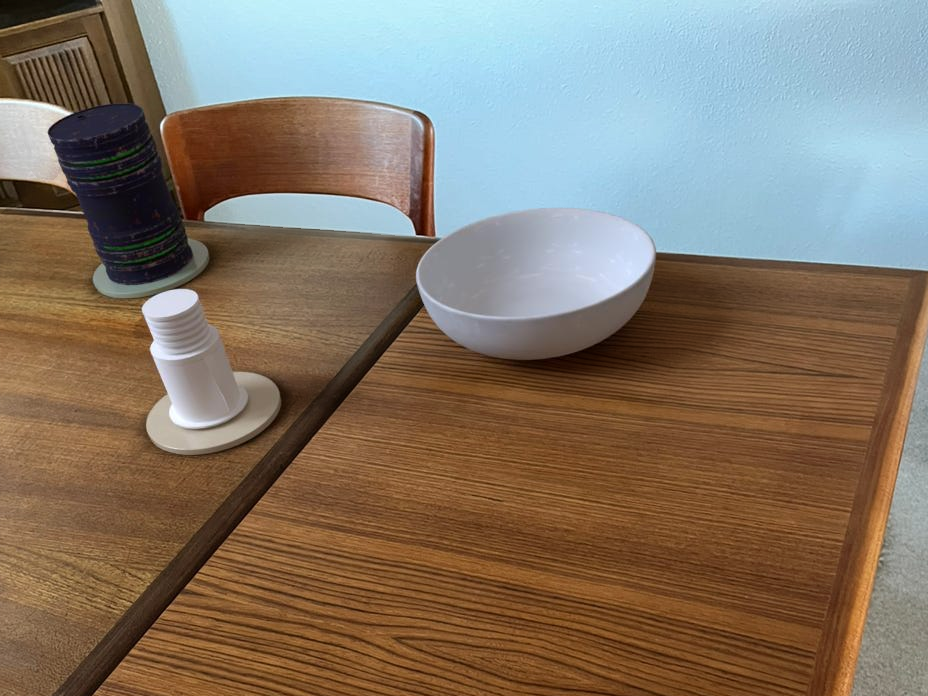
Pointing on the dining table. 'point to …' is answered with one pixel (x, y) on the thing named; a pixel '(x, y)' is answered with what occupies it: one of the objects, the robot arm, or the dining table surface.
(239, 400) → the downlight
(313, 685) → the dining table surface
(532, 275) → the serving bowl
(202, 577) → the dining table surface
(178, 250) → the storage jar
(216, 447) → the near coaster
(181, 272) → the far coaster
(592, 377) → the dining table surface
